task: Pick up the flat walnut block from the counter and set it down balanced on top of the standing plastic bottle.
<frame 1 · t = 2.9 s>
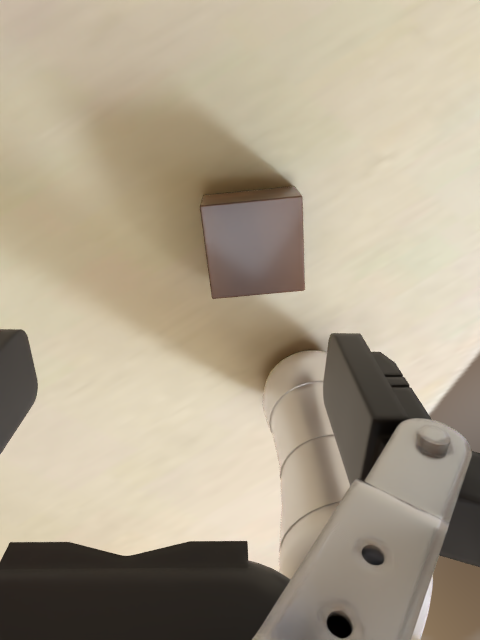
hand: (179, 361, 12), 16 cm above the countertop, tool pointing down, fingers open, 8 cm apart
walnut block: (252, 235, 27), on the countertop
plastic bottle: (304, 376, 32), on the countertop
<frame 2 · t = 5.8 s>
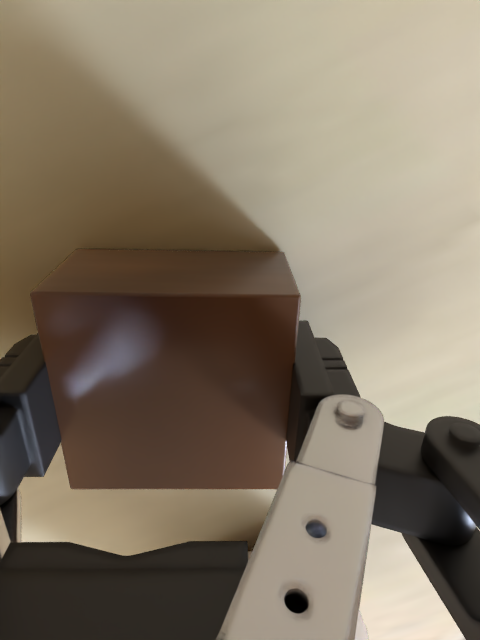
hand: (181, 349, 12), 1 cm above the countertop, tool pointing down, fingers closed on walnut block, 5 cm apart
walnut block: (184, 340, 13), on the countertop, touching gripper
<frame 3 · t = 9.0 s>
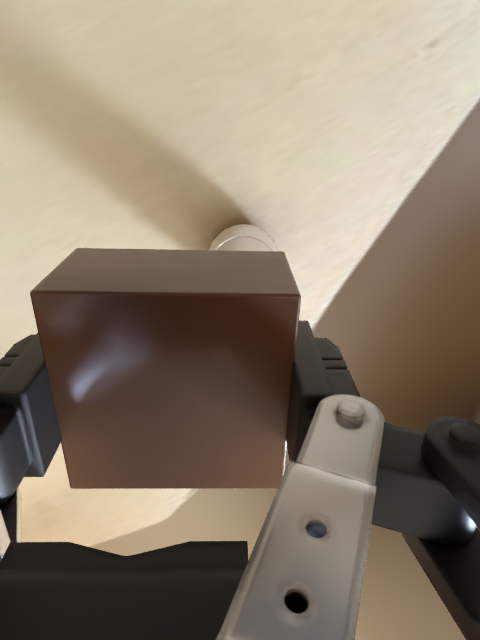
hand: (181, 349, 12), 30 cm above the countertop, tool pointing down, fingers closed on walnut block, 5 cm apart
walnut block: (184, 340, 13), point 29 cm above the countertop, touching gripper
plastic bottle: (241, 251, 42), on the countertop
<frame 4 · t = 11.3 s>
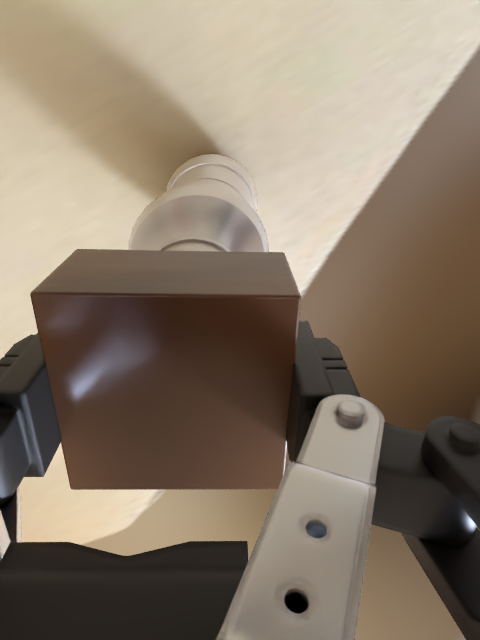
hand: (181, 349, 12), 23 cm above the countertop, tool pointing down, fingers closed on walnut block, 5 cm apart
walnut block: (184, 341, 13), point 23 cm above the countertop, touching gripper
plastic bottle: (212, 195, 33), on the countertop
when the fingers open (21 cm above the countertop, at t = 12.7 s): walnut block stays where it is, resting on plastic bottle.
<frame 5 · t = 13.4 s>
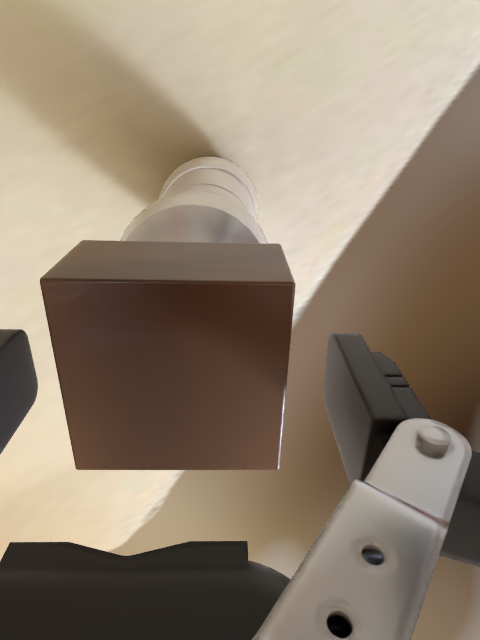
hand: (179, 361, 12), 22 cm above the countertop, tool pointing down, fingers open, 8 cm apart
walnut block: (184, 329, 13), point 20 cm above the countertop, touching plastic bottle
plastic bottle: (210, 200, 31), on the countertop, touching walnut block
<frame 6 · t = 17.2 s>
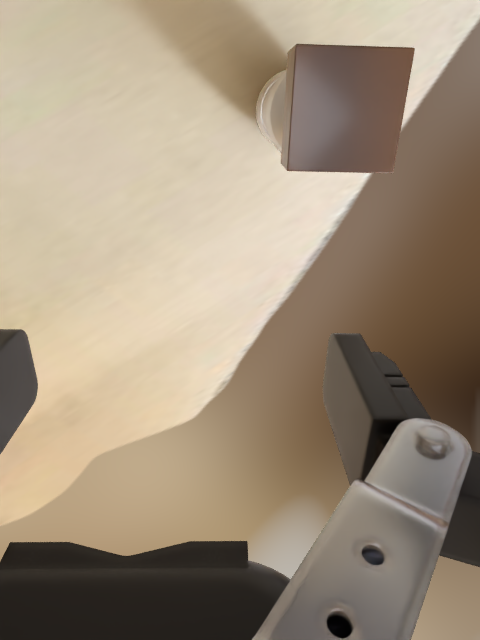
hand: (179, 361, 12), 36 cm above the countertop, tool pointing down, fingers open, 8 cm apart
walnut block: (334, 111, 24), point 20 cm above the countertop, touching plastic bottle
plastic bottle: (288, 109, 42), on the countertop, touching walnut block
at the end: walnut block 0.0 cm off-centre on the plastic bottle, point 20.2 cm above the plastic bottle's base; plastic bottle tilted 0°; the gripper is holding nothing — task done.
